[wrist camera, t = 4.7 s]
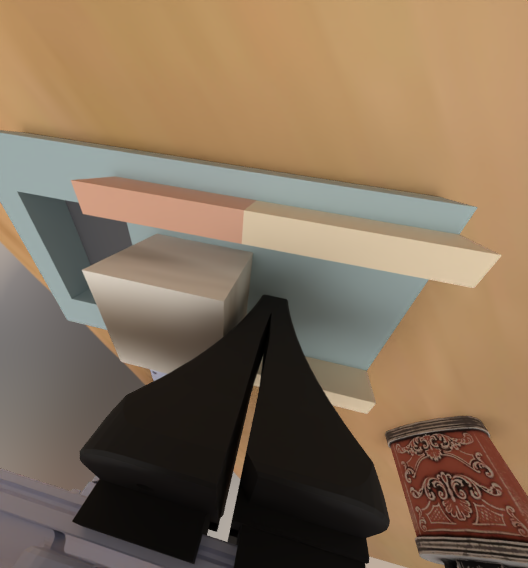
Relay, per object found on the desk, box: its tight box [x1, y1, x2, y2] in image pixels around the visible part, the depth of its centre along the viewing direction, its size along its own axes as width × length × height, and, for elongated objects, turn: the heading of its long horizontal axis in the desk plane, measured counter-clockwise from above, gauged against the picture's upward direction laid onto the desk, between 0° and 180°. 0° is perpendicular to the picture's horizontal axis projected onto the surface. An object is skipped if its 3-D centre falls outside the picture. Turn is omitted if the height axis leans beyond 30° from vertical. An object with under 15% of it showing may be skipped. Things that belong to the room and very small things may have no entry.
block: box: [82, 234, 253, 374], centre depth 10 cm, size 5×5×4 cm
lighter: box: [385, 416, 528, 568], centre depth 14 cm, size 8×3×10 cm, turn 137°
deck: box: [0, 130, 502, 414], centre depth 12 cm, size 12×22×4 cm, turn 83°
